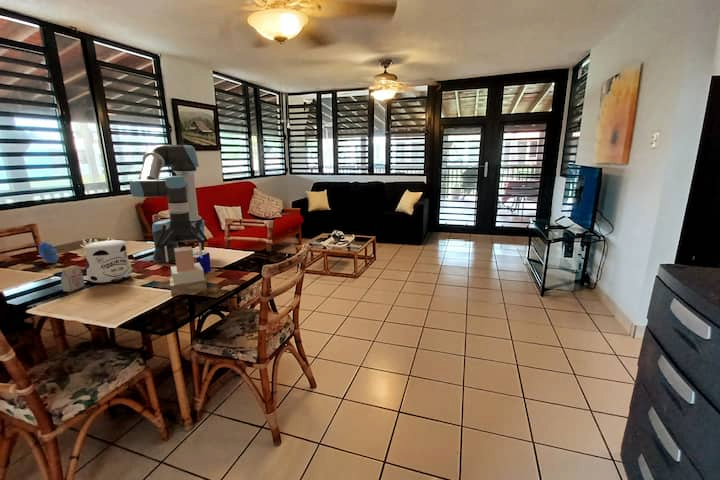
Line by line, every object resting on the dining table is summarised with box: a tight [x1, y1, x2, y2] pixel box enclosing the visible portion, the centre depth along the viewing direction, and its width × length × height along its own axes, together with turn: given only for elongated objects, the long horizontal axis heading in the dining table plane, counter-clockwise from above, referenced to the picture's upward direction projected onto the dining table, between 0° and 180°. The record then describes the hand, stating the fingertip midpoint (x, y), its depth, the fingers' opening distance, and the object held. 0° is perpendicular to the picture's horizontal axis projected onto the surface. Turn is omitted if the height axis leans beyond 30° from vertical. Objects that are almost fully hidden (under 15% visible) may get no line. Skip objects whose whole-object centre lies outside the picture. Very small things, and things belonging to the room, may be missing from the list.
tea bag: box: [60, 265, 86, 293], centre depth 150 cm, size 4×7×10 cm, turn 173°
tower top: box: [170, 263, 205, 285], centre depth 152 cm, size 12×12×5 cm
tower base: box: [169, 275, 208, 297], centre depth 153 cm, size 14×14×5 cm
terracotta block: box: [174, 246, 195, 272], centre depth 150 cm, size 7×7×9 cm
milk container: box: [84, 239, 132, 285], centre depth 160 cm, size 17×17×18 cm
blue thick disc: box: [38, 241, 59, 264], centre depth 184 cm, size 12×7×12 cm, turn 79°
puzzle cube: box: [193, 250, 212, 275], centre depth 172 cm, size 10×10×10 cm
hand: (184, 259), depth 150 cm, fingers open, 13 cm apart
